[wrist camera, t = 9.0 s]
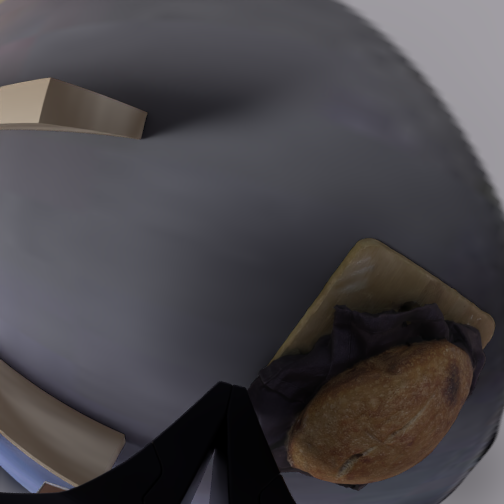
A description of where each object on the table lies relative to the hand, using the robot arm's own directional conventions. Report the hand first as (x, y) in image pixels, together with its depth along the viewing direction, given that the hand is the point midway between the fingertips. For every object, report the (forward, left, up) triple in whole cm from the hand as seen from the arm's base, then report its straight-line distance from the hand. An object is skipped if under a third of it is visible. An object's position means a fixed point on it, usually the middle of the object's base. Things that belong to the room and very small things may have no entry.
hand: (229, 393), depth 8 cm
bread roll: (0, -5, -2) cm, 5 cm away
